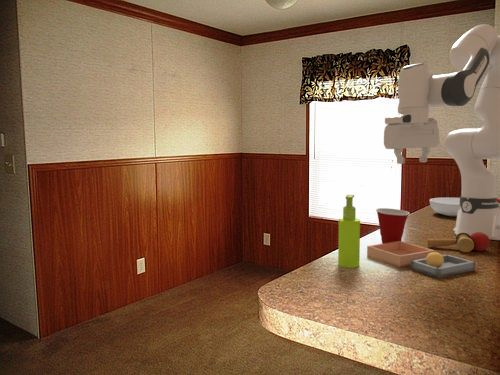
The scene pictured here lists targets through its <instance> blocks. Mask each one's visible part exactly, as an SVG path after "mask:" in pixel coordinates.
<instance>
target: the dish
mask: <svg viewBox="0 0 500 375" xmlns="http://www.w3.org/2000/svg"><path fill="white" fill-rule="evenodd" d="M432 252H435V250H434V249H431V248H429V247H428V248H427V247H423V246H421V245H420V246H419V245H418V244H417V245H416V244H412V243H408V242H406V241H405V242H404V241H402V240H401V241H397V242H390V243H384V244H382V243H379V244H372V245H367V247H366V256H367V258H371V259H375V260H377V261H378V262H383V263H386V264H388V265H391V266H394V267H397V268H406V267H411V261H413V260H418V259H424V258H426V257H427V255H428V254H429V253H432Z"/></svg>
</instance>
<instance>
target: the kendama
mask: <svg viewBox="0 0 500 375" xmlns="http://www.w3.org/2000/svg"><path fill="white" fill-rule="evenodd" d="M455 235H456V234H455ZM490 243H491V239H489V238H488V236H487V235H486V234H484V233H481V232H476V233H473V234H472V235H471V236H470V235H469V234H468V233H466V232H460V233H458V234H457V235H456V236H455V239H454V238H427V247H428V249H431V248H437V247H440V248H441V247H447V246H453V245H456V246H457V249H458V250H459V251H460V252H463V253H469V252H472V251H473V250H474V251H477V252H484V251H486V250H487V249H488V248H489V246H490Z"/></svg>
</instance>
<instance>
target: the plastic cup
mask: <svg viewBox="0 0 500 375" xmlns="http://www.w3.org/2000/svg"><path fill="white" fill-rule="evenodd" d="M375 211H376V213H377V220H378V225H379V233H380V237H381V244H384V243H390V242H397V241H402V239H403V236H404V231H405V227H406V222H407V220H408V218H409V215H410V214H411V213H410V212H409V211H407V210H403V209H399V208H398V209H397V208H387V207H383V208H380V207H379V208H376V209H375Z"/></svg>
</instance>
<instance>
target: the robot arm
mask: <svg viewBox="0 0 500 375" xmlns="http://www.w3.org/2000/svg"><path fill="white" fill-rule="evenodd" d="M448 55H449V62H450V63H451V66H453V67H454V68H455V70H457V71H455V72H451V73H444V74H438V75H434V74H432V73H431V72H430V71H429V68H428V64H427V63H424V62H419V63H414V64H409V65H405V66H403V67H402V68H400V72H399V75H398V82H397V83H398V85H397V95H398V105H397V112H395V113H393V114H391V115H388V116H385V118H384V123H385V125H386V126H385V127H384V132H383V145H384V146H383V147H385V149H387V150H393V152H394V155H395V157H396V163H397V164H399V165H404V164H405V163H406V161H405V160H406V158H405V157H403V154H402V153H403V151H404V150H403V149H421V151H422V153H421V156H419V160H418V161H419V162H420V163H427V161H428V157H429V155H430V154H429V153H430V152H431V148H437V147H438V146H439V145H440V141H441V140H440V130H439V126H438V121H437V120H436V119H435V118H434V117H429V110H430V109H429V108H439V107H441V108H442V107H463V106H465V105H467V104H468V103H469V102H470V101H471V100H472V99H473V97H474V95H475V93H476V92H475V91H476V88H477V86H478V84H479V82H480V81H481V79H482V78H483V75H484V74H485V72H486V71H487V74H486V75H485V78H484V79H483V82H482V84H481V87H480V88H479V89H480V90H479V91H478V95H477V98H476V102H475V105H474V106H473V107H474V108H473V111H474V114H475V116H476V117H477V118H478V119H479V120H481V121H482V122H483V125H482V126H481V127H470V128H469V127H467V128H459V129H455V130H452V131H450V132H449V133H448V134H447V135H446V137H445V139H444V148H445V151H446V153H447V154H448V155H449V156H450V157H452V159H453V161H455V163H456V164H457V167H458V169H459V172H460V178H461V182H460V183H461V195H460V196H459V198H460V200H459V202H460V206H461V207H460V209H459V210H458V214H457V217H456V221H455V227H454V228H453V230H452V231H454V234H455V235H457V234H458V233H460V232H466V233H468V234H469V235H470V236H471V235H472V234H473V233H476V232H481V233H484V234H486V235H487V236H488V238H489V240H495V241H500V208H499V207H500V206H499V204H500V197H497V176H496V174H495V173H494V172H493V171H492V170H490V169H488V168H487V167H486V166H485V164H484V161H483V160H484V159H485V160H486V159H487V160H500V34H498V32H497V30H496V28H495V27H494V26H492V25H491V24H486V23H482V24H478V25H475V26H474V27H472V28H471V29H469V30H468V31H466V32H465V33H464V34H463V35H461V37H459V39H457V41H455V43H453V45H452V46H451V49H450V51H449V54H448Z"/></svg>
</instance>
